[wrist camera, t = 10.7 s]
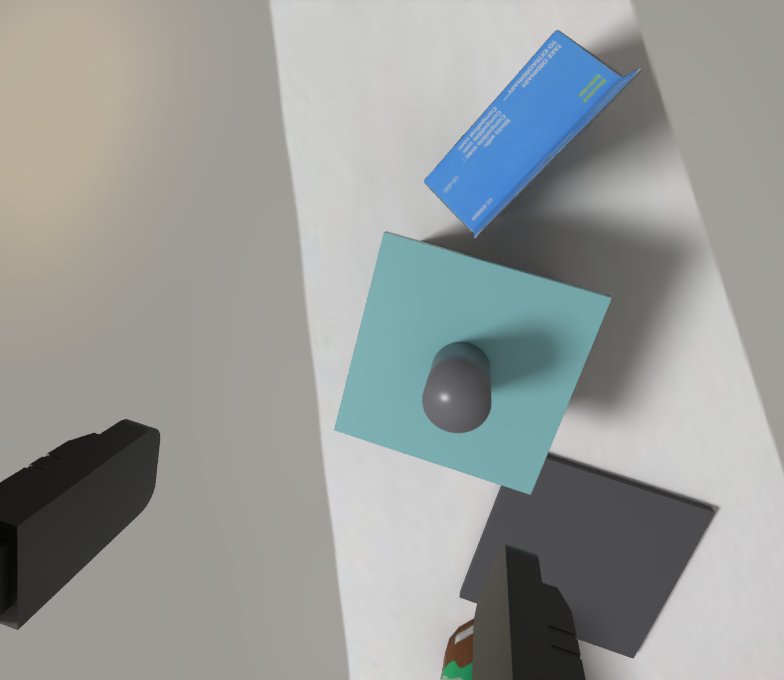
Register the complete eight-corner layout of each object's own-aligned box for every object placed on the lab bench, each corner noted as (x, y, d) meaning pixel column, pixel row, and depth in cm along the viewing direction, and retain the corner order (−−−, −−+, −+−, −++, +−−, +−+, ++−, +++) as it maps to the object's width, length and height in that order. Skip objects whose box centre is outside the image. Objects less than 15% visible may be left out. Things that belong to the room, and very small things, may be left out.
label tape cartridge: (540, 67, 30) (574, -15, 18) (586, 114, 30) (649, 63, 18) (435, 183, 33) (408, 176, 21) (478, 225, 33) (474, 242, 21)
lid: (386, 231, 27) (364, 239, 22) (608, 295, 26) (637, 319, 21) (337, 424, 31) (309, 468, 26) (529, 487, 30) (538, 546, 25)
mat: (516, 445, 37) (517, 449, 36) (711, 507, 35) (714, 512, 35) (459, 591, 41) (459, 597, 40) (631, 652, 40) (633, 658, 39)
